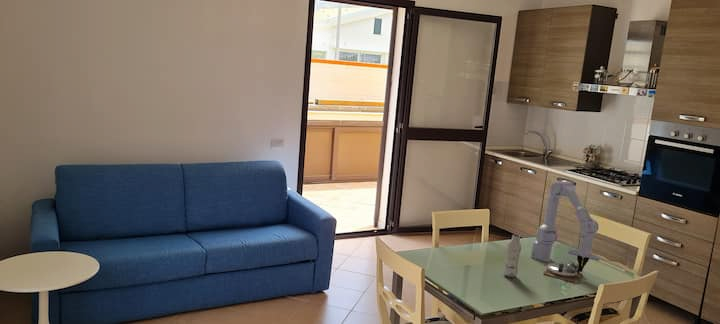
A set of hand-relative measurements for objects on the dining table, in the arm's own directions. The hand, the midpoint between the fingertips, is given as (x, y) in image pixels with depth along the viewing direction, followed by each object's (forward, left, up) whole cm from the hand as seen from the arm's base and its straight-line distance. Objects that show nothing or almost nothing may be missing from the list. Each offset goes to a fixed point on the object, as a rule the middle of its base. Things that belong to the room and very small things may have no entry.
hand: (580, 271), depth 271 cm
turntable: (-8, 0, -4) cm, 9 cm away
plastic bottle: (-28, -24, -4) cm, 38 cm away
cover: (-4, 0, -1) cm, 5 cm away
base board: (-7, -1, -4) cm, 8 cm away
